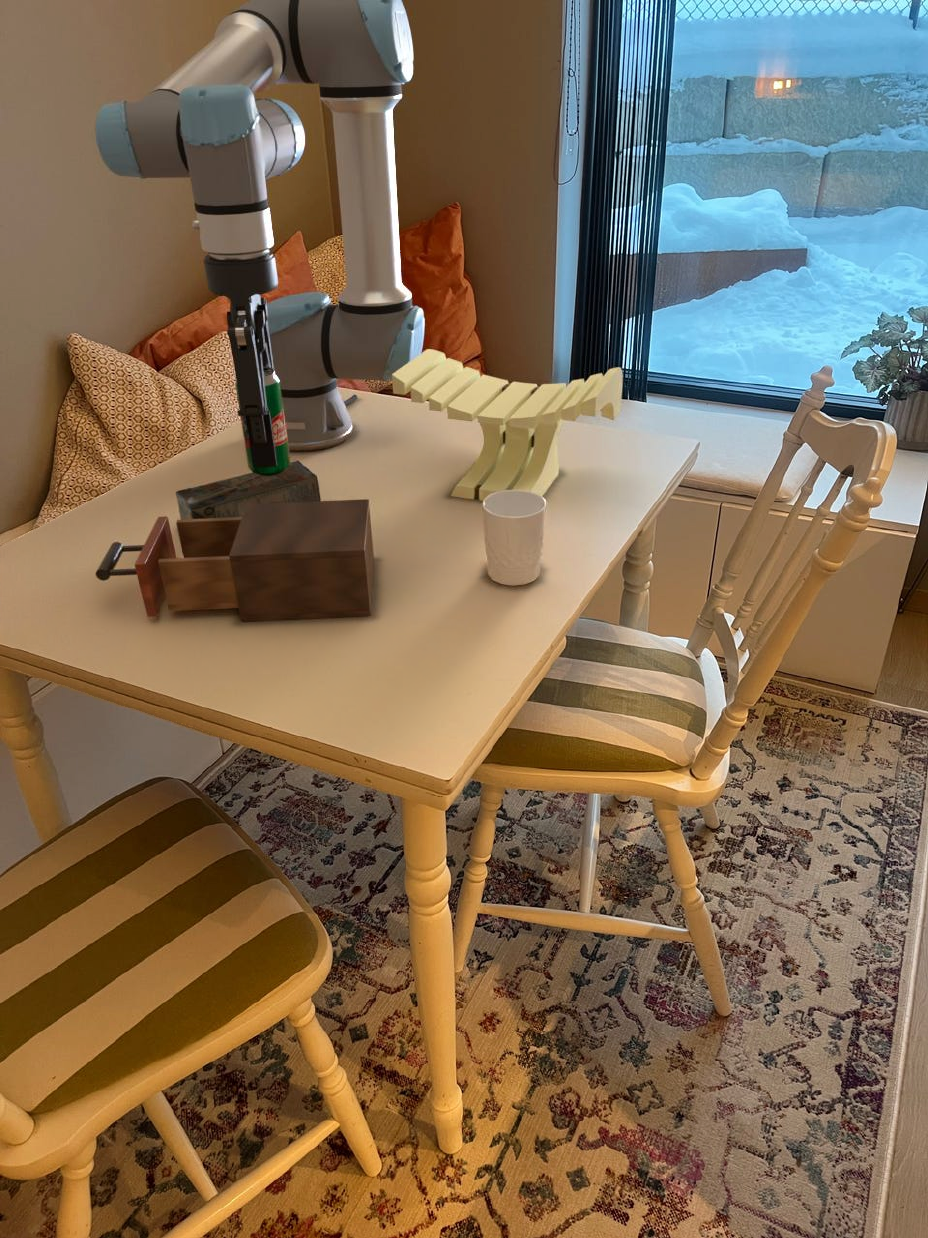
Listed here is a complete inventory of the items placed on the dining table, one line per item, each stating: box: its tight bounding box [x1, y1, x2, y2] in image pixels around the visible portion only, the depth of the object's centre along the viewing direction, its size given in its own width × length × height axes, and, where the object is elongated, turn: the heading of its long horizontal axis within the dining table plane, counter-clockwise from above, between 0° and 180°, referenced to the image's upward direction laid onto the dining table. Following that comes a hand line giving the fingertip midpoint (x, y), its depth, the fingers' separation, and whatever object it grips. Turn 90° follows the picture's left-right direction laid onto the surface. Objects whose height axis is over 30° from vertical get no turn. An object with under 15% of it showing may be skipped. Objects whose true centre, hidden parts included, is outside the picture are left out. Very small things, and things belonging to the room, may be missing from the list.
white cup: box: [481, 490, 547, 587], centre depth 118 cm, size 8×8×10 cm
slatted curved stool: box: [391, 348, 624, 502], centre depth 140 cm, size 30×16×18 cm, turn 68°
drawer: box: [95, 515, 242, 618], centre depth 115 cm, size 20×12×7 cm, turn 93°
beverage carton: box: [175, 460, 322, 520], centre depth 133 cm, size 8×19×7 cm, turn 121°
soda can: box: [234, 366, 292, 476], centre depth 110 cm, size 5×5×12 cm
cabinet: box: [229, 498, 375, 623], centre depth 116 cm, size 16×14×9 cm
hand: (268, 455), depth 112 cm, fingers closed on soda can, 5 cm apart
